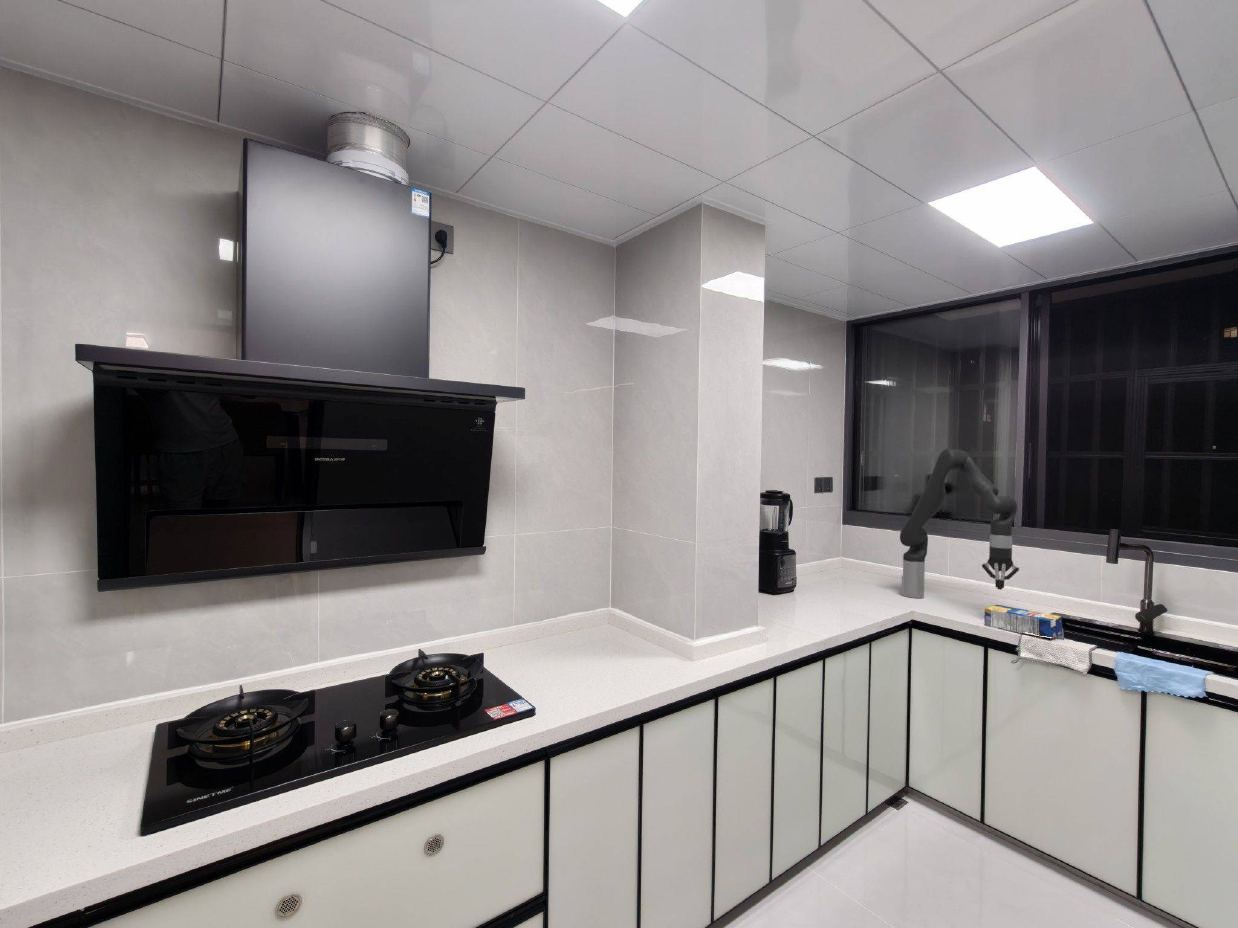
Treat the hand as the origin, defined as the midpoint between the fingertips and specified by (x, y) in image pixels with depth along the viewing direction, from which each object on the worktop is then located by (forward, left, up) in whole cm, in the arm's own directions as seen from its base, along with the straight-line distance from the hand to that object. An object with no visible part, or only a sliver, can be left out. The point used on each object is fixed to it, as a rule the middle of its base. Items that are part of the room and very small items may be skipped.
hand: (999, 588), depth 225 cm
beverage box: (-3, -1, -11) cm, 11 cm away
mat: (+10, 0, -14) cm, 18 cm away
